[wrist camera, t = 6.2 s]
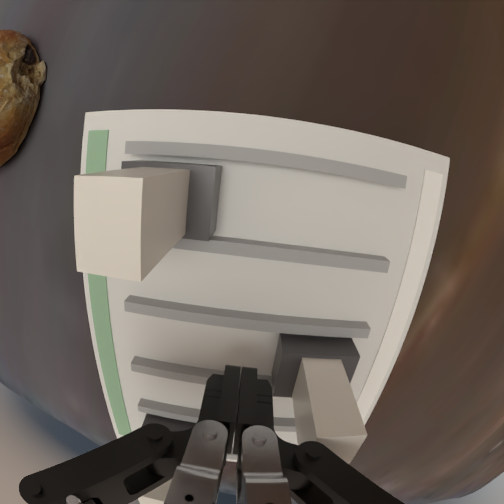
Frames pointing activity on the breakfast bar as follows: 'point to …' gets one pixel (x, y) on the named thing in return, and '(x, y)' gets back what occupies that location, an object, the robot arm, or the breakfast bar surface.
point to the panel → (263, 257)
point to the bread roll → (17, 89)
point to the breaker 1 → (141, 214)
